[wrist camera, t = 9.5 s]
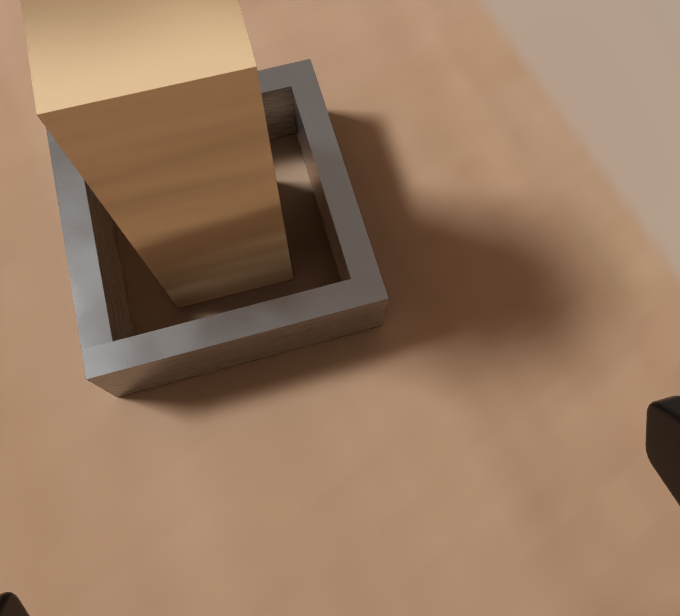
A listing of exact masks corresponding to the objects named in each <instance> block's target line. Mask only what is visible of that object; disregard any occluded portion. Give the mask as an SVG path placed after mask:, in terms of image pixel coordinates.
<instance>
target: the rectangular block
mask: <svg viewBox="0 0 680 616" xmlns="http://www.w3.org/2000/svg"><path fill="white" fill-rule="evenodd" d="M21 8H22V15H23V22H24V29H25V36H26V43H27V50H28V57H29V64H30V71H31V78H32V85H33V92H34V99H35V106H36V113H37V116H38V117H39V118H40V120H41V121H42V123H43V124H44V125H45V127H46V128H47V129H48V131H49V132H50V134H51V135H52V136H53V138H54V139H55V140H56V142H57V143H58V144H59V146H60V147H61V149H62V150H63V151H64V153H65V154H66V155H67V157H68V158H69V160H70V161H71V162H72V164H73V165H74V166H75V168H76V169H77V170H78V172H79V173H80V175H81V176H82V177H83V179H84V180H85V181H86V183H87V184H88V186H89V187H90V188H91V190H92V191H93V192H94V194H95V195H96V197H97V198H98V199H99V201H100V202H101V203H102V205H103V206H104V207H105V209H106V210H107V212H108V213H109V214H110V216H111V217H112V218H113V220H114V221H115V223H116V224H117V225H118V227H119V228H120V229H121V231H122V232H123V234H124V235H125V236H126V238H127V239H128V240H129V242H130V243H131V244H132V246H133V247H134V249H135V250H136V251H137V253H138V254H139V255H140V257H141V258H142V260H143V261H144V262H145V264H146V265H147V266H148V268H149V269H150V270H151V272H152V273H153V275H154V276H155V277H156V279H157V280H158V281H159V283H160V284H161V286H162V287H163V288H164V290H165V291H166V292H167V294H168V295H169V297H170V298H171V299H172V301H173V302H174V303H175V305H176V306H177V307H178V308H181V307H185V306H189V305H193V304H197V303H201V302H204V301H208V300H212V299H216V298H220V297H224V296H228V295H232V294H236V293H240V292H244V291H248V290H252V289H256V288H260V287H264V286H268V285H272V284H276V283H280V282H284V281H288V280H292V279H293V273H292V267H291V261H290V256H289V250H288V244H287V238H286V233H285V227H284V221H283V216H282V210H281V204H280V198H279V193H278V187H277V181H276V175H275V170H274V164H273V158H272V152H271V147H270V141H269V135H268V129H267V124H266V118H265V112H264V106H263V101H262V95H261V89H260V83H259V78H258V72H257V66H256V63H255V59H254V56H253V52H252V48H251V45H250V41H249V38H248V34H247V31H246V27H245V24H244V20H243V16H242V13H241V9H240V6H239V2H238V0H21Z"/></svg>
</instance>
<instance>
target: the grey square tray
mask: <svg viewBox="0 0 680 616" xmlns="http://www.w3.org/2000/svg"><path fill="white" fill-rule="evenodd" d="M257 72H258V78H259V83H260V89H261V95H262V101H263V106H264V112H265V118H266V124H267V129H268V135H269V139H273V138H277V137H281V136H286V135H290V134H294V133H296V134H297V138H298V141H299V144H300V148H301V151H302V154H303V157H304V161H305V164H306V167H307V171H308V174H309V177H310V180H311V184H312V187H313V190H314V194H315V197H316V200H317V203H318V207H319V210H320V213H321V216H322V220H323V223H324V226H325V230H326V233H327V236H328V239H329V243H330V246H331V249H332V253H333V256H334V259H335V262H336V266H337V269H338V272H339V275H340V279H341V282H337V283H333V284H330V285H326V286H322V287H318V288H314V289H311V290H307V291H303V292H299V293H295V294H292V295H288V296H284V297H280V298H276V299H273V300H269V301H265V302H261V303H257V304H254V305H250V306H246V307H242V308H238V309H235V310H231V311H227V312H223V313H219V314H216V315H212V316H208V317H204V318H200V319H197V320H193V321H189V322H185V323H181V324H178V325H174V326H170V327H166V328H162V329H159V330H155V331H151V332H147V333H143V334H140V335H136V336H134V331H133V325H132V320H131V315H130V309H129V304H128V299H127V293H126V288H125V283H124V277H123V272H122V267H121V262H120V256H119V251H118V246H117V240H116V235H115V230H114V224H113V219H112V217H111V216H110V214H109V213H108V212H107V210H106V209H105V207H104V206H103V205H102V203H101V202H100V201H99V199H98V198H97V197H96V195H95V194H94V192H93V191H92V190H91V188H90V187H89V186H88V184H87V183H86V181H85V180H84V179H83V177H82V176H81V175H80V173H79V172H78V170H77V169H76V168H75V166H74V165H73V164H72V162H71V161H70V160H69V158H68V157H67V155H66V154H65V153H64V151H63V150H62V149H61V147H60V146H59V144H58V143H57V142H56V140H55V139H54V138H53V136H52V135H51V134H50V132H49V131H48V129H47V128H46V130H47V136H48V142H49V149H50V155H51V161H52V168H53V174H54V180H55V186H56V193H57V199H58V205H59V212H60V218H61V224H62V230H63V237H64V243H65V249H66V255H67V262H68V268H69V274H70V281H71V287H72V293H73V299H74V306H75V312H76V318H77V325H78V331H79V337H80V343H81V350H82V356H83V362H84V369H85V375H86V379H87V380H88V381H90V382H92V383H93V384H95V385H97V386H99V387H100V388H102V389H104V390H105V391H107V392H109V393H111V394H112V395H114V396H116V397H120V396H124V395H127V394H131V393H135V392H138V391H142V390H146V389H149V388H153V387H157V386H160V385H164V384H168V383H172V382H175V381H179V380H183V379H186V378H190V377H194V376H197V375H201V374H205V373H208V372H212V371H216V370H219V369H223V368H227V367H230V366H234V365H238V364H241V363H245V362H249V361H253V360H256V359H260V358H264V357H267V356H271V355H275V354H278V353H282V352H286V351H289V350H293V349H297V348H300V347H304V346H308V345H311V344H315V343H319V342H322V341H326V340H330V339H334V338H337V337H341V336H345V335H348V334H352V333H356V332H359V331H363V330H367V329H370V328H374V327H378V326H381V325H383V320H384V316H385V312H386V307H387V303H388V299H389V298H388V295H387V292H386V289H385V286H384V283H383V280H382V277H381V274H380V271H379V267H378V264H377V261H376V258H375V255H374V252H373V249H372V246H371V243H370V240H369V237H368V234H367V231H366V228H365V225H364V222H363V219H362V216H361V212H360V209H359V206H358V203H357V200H356V197H355V194H354V191H353V188H352V185H351V182H350V179H349V176H348V173H347V170H346V167H345V164H344V161H343V158H342V154H341V151H340V148H339V145H338V142H337V139H336V136H335V133H334V130H333V127H332V124H331V121H330V118H329V115H328V112H327V109H326V106H325V103H324V99H323V96H322V93H321V90H320V87H319V84H318V81H317V78H316V75H315V72H314V69H313V66H312V63H311V60H310V59H308V60H304V61H299V62H295V63H290V64H286V65H282V66H277V67H273V68H268V69H264V70H260V71H257Z"/></svg>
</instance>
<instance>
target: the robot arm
mask: <svg viewBox="0 0 680 616" xmlns="http://www.w3.org/2000/svg"><path fill="white" fill-rule="evenodd" d="M646 452H647V455H648V458H649V460H650V462H651V464H652V466H653V467H654V469H655V470H656V472H657V473H658V474H659V476H660V477H661V479H662V480H663V482H664V483H665V485H666V486H667V488H668V489H669V491H670V492H671V494H672V495H673V497H674V498H675V499H676V501H677V502H678V504H679V505H680V396H671V397H668V398H665V399H661V400H658V401H654V402H652V403H651V404H650V405H649V407H648V409H647V421H646ZM0 616H29V614H28V613H27V611H26V609H25V608H24V606H23V605H22V603H21V601H20V600H19V598H18V597H17V596H16V595H15V594H13V593H11V592H5V593H2V594H0Z"/></svg>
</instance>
